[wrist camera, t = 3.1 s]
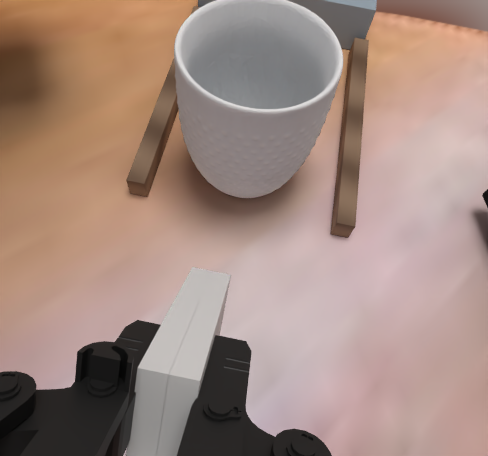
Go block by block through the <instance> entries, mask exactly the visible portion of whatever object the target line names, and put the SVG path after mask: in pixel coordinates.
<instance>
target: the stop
mask: <svg viewBox="0 0 488 456" xmlns="http://www.w3.org/2000/svg"><path fill="white" fill-rule="evenodd" d="M213 1H216V0H198V7H202V6H204V5H206V4H208V3H210V2H213ZM287 1H290V2H293V3H296V4H298V5H300V6H302V7H305V8H306V9H308V10H310V11H311V12H313V13H315V14H316V15H317V16H319V17H320V18H321V19H322V20H323V21H324V22H325V23H326V24H327V25H328V26H329V27H330V28H331V30H332V31H333V32H334V34H335V35H336V37H337V39H338V41H339V43H340V46H341V48H344V49H349V50H350V49H351V46H352V44H353V41H354V38H360V39H365V38H366V35H367V32H368V30H369V27H370V25H371V22H372V19H373V17H374V14H375V12H376V1H377V0H287Z"/></svg>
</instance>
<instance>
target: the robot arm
mask: <svg viewBox="0 0 488 456" xmlns="http://www.w3.org/2000/svg"><path fill="white" fill-rule="evenodd" d="M230 277H231V275H230V274H225V273H220V272H215V271H210V270H205V269H200V268H195V267H192V269H191V271H190V273H189V275H188V276H187V278H186V280H185V282H184V284H183V286H182V287H181V289H180V291H179V293H178V295H177V297H176V298H175V300H174V302H173V304H172V306H171V308H170V309H169V311H168V313H167V315H166V317H165V319H164V320H163V322H162V324H161V325H159V324H154V323H149V322H144V321H139V320H137V321H135V322H133V323H132V324H130V325H128V326H126V327H125V328H124V330H123V331H122V333H121V334H120V336H119V338H117V340H116V341H115V342H105V341H104V342H96V343H92V344H89V345H87V346H84V347H83V348H82V349H80V350H79V351H78V352H77V364H76V376H75V382H74V384H73V385H72V386H71V387H69V388H65V389H51V390H36V383H35V381H34V379H33V378H32V377H30V376H29V375H28V374H25V373H21V372H17V371H15V372H1V373H0V456H123V454H124V452H125V450H126V448H127V454H126V456H332V455H331V453H330V451H329V450H328V448H327V447H326V445H325V444H324V443H323V442H322V441H321V440H320V439H319V438H317V437H316V436H315V435H313V434H311V433H309V432H306V431H303V430H298V429H289V430H284V431H282V432H281V433H279V434H277V436H276V437H274V436H272V435H270V434H268V433H266V432H264V431H263V430H261V429H259V428H258V427H257V426H256V425H255V424H254V423H252V421H251V420H250V418H249V417H248V415H247V412H246V406H245V404H246V395H247V386H248V377H249V368H250V360H251V350H250V348H249V346H248V344H247V342H246V341H242V340H237V339H232V338H228V337H223V336H219V335H220V330H221V324H222V319H223V314H224V308H225V303H226V298H227V293H228V287H229V282H230Z"/></svg>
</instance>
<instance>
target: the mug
mask: <svg viewBox="0 0 488 456" xmlns="http://www.w3.org/2000/svg"><path fill="white" fill-rule="evenodd" d="M174 61H175V79H176V93H177V104H178V108H179V120H180V122H181V130H182V133H183V136H184V141H185V143H186V145H187V150H188V152H189V154H190V155H191V158H192V161H193V162H194V163H195V165H196V168H197V169H198V170H199V171H200V173H201V175H202V176H203V177H204V178H205V179H206V180H207V182H209V183H210V184H212V185H213V186H214V187H215V188H217V189H218V190H220V191H222V192H224V193H226V194H228V195H231V196H234V197H239V198H255V197H260V196H264V195H266V194H269V193H272V192H273V191H274V190H276V189H279V188H280V187H281V186H282V185H283V184H285V183H286V182H287V181H288V180H289V179H290V178H292V176H293V175H294V173H295V172H297V171H298V170H299V168H300V166H301V165H302V164H303V163H304V162H305V159H306V158H307V156H308V155H309V154H310V151H311V149H312V148H313V146H314V145H315V142H316V139H317V137H318V136H319V134H320V132H321V128H322V126H323V125H324V123H325V119H326V116H327V114H328V112H329V110H330V106H331V102H332V100H333V98H334V95H335V91H336V88H337V86H338V83H339V80H340V77H341V73H342V68H343V53H342V49H341V46H340V43H339V41H338V39H337V37H336V35H335V34H334V32H333V31H332V30H331V28H330V27H329V26H328V25H327V24H326V23H325V22H324V21H323V20H322V19H321V18H320V17H319V16H317V15H316V14H315V13H313V12H311V11H310V10H308V9H306V8H305V7H302V6H300V5H298V4H296V3H293V2H290V1H287V0H216V1H213V2H210V3H208V4H206V5H204V6H202V7H200V8H199V9H197V10H196V11H195V12H194V13H193V14H191V15H190V16H189V17H188V18H187V19H186V20H185V22H184V23H183V24H182V26H181V28H180V29H179V31H178V34H177V36H176V40H175V45H174Z"/></svg>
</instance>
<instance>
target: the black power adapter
mask: <svg viewBox="0 0 488 456" xmlns="http://www.w3.org/2000/svg"><path fill="white" fill-rule="evenodd" d="M482 196H483V198H484V200H485V203H486V205H487V208H488V189H487V190H486V191H485V192H484V193H483V195H482Z"/></svg>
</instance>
